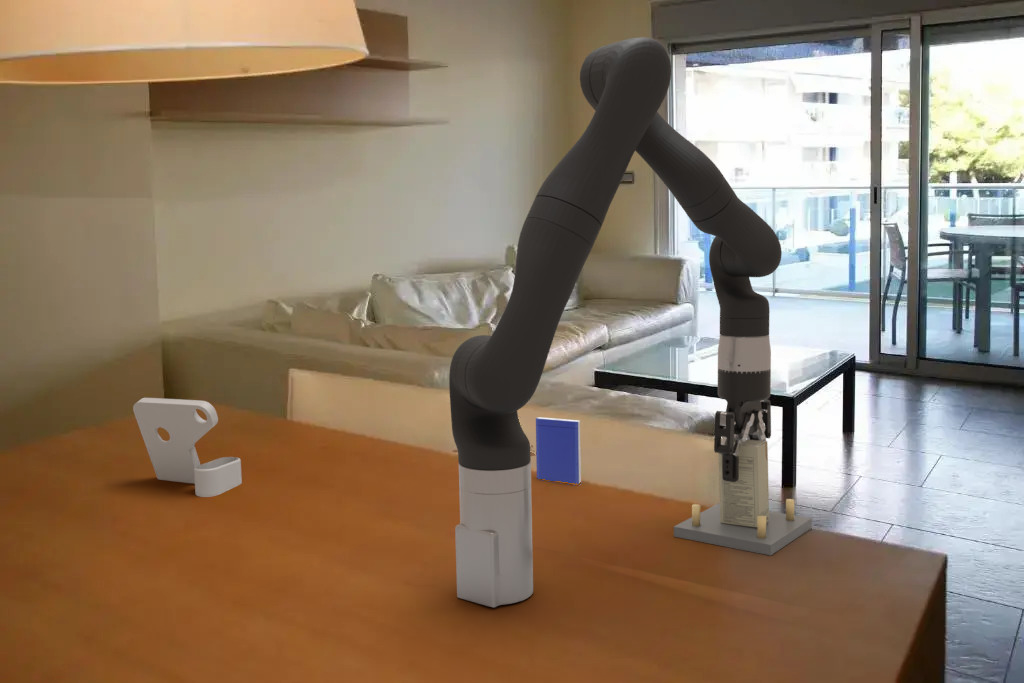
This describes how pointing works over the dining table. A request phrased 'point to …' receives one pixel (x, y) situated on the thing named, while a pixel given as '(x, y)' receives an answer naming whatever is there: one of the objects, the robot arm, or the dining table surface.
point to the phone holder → (184, 444)
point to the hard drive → (558, 450)
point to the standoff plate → (744, 530)
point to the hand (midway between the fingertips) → (743, 474)
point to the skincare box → (746, 487)
